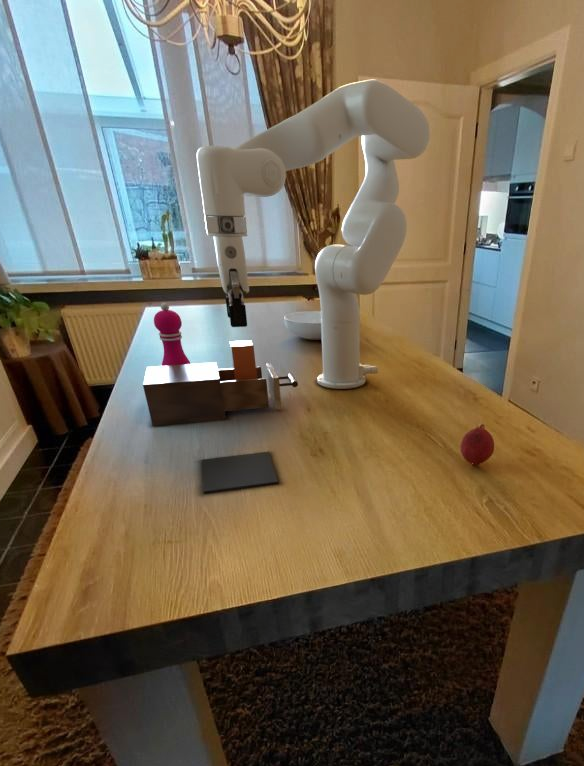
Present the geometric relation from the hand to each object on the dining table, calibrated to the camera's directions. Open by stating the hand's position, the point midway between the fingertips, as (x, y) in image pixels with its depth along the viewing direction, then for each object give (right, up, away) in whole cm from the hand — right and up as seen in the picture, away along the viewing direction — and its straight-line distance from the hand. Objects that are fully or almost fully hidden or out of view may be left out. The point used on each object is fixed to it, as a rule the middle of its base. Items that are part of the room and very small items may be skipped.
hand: (237, 321), depth 103 cm
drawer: (+2, -14, +10) cm, 18 cm away
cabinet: (-12, -17, +7) cm, 22 cm away
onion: (+47, -31, -14) cm, 58 cm away
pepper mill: (-19, -9, +20) cm, 29 cm away
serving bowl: (+9, +21, +67) cm, 71 cm away
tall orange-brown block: (0, -14, +9) cm, 16 cm away
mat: (+5, -33, -17) cm, 37 cm away
